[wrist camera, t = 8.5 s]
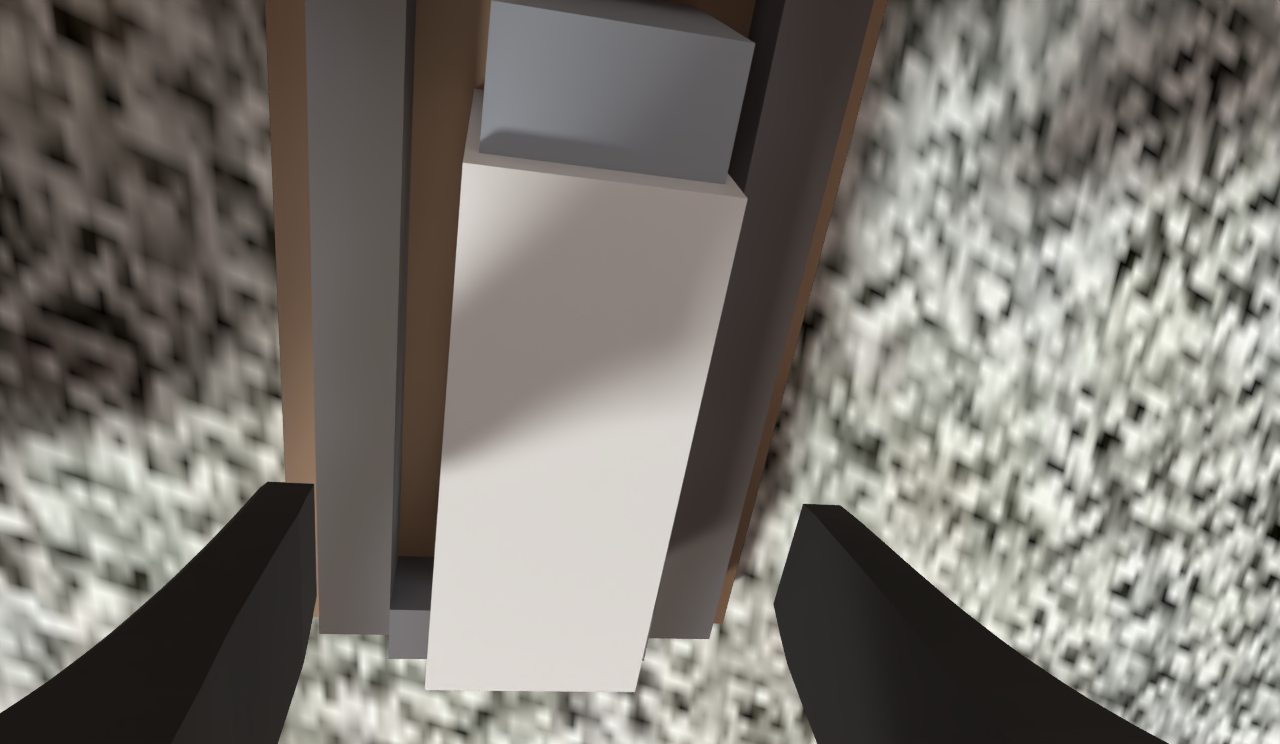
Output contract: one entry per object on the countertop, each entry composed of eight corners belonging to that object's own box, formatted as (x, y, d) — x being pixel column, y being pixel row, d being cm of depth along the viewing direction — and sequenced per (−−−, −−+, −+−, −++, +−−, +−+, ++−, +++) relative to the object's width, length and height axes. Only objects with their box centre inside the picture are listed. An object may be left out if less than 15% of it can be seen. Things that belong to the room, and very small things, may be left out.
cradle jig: (301, 582, 22) (274, 673, 20) (271, -267, 14) (218, -302, 11) (713, 592, 24) (737, 675, 22) (899, -142, 16) (974, -148, 14)
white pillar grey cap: (441, 521, 21) (424, 690, 16) (483, -30, 15) (474, 3, 11) (608, 528, 21) (634, 691, 17) (705, 8, 16) (781, 52, 12)
